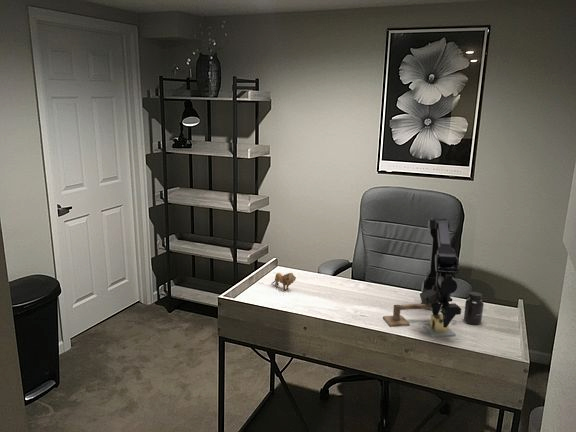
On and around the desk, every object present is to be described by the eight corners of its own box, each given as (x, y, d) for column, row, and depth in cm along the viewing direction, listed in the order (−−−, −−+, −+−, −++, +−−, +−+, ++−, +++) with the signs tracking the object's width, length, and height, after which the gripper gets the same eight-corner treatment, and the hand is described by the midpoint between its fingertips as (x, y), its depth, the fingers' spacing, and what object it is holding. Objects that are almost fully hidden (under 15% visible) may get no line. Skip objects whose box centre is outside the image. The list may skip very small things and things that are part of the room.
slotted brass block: (442, 327, 187) (443, 313, 186) (448, 332, 182) (449, 318, 181) (430, 327, 186) (431, 314, 185) (435, 332, 182) (437, 319, 180)
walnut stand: (430, 316, 198) (431, 300, 197) (439, 324, 191) (440, 308, 189) (382, 318, 195) (384, 302, 194) (390, 326, 187) (391, 310, 186)
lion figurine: (297, 291, 223) (297, 272, 221) (289, 294, 219) (290, 275, 217) (275, 283, 233) (275, 265, 231) (267, 285, 229) (267, 267, 227)
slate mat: (444, 325, 189) (444, 324, 189) (455, 336, 181) (455, 334, 181) (423, 326, 188) (423, 325, 188) (433, 337, 179) (433, 335, 179)
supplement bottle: (479, 326, 189) (482, 298, 187) (461, 322, 193) (464, 294, 190) (482, 320, 195) (486, 293, 193) (465, 316, 199) (468, 289, 196)
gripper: (413, 276, 188) (410, 313, 191) (435, 294, 170) (431, 334, 173) (439, 275, 190) (436, 312, 193) (464, 292, 172) (459, 333, 175)
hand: (439, 322), depth 184 cm, fingers open, 8 cm apart
